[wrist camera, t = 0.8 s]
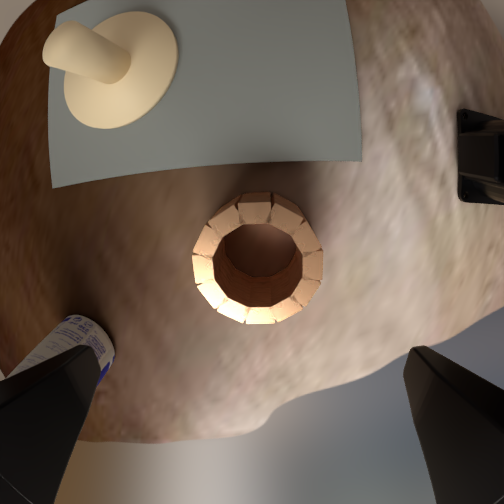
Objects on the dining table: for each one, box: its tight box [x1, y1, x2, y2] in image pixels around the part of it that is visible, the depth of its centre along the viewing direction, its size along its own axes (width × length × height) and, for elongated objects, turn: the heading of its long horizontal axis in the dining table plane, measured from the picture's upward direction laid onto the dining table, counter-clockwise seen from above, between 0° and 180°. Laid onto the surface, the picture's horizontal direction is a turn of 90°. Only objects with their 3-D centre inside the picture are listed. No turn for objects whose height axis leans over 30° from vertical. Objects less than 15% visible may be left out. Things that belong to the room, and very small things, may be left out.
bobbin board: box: [43, 0, 362, 188], centre depth 11 cm, size 20×14×7 cm
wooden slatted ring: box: [192, 192, 323, 324], centre depth 16 cm, size 6×6×4 cm
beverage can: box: [7, 315, 115, 386], centre depth 15 cm, size 6×6×15 cm
